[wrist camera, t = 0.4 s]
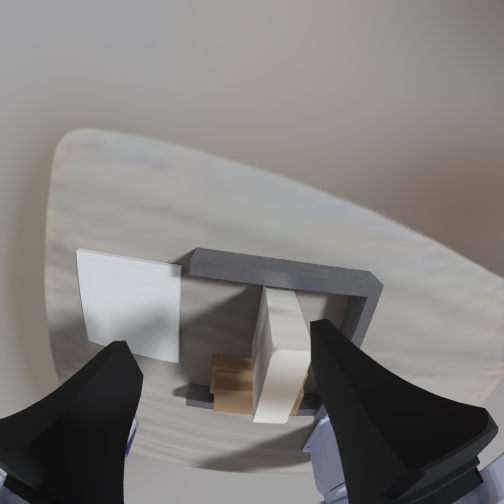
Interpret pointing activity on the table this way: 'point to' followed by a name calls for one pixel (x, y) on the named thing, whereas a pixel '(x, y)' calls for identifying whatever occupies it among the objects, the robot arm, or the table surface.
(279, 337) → the white upright pillar
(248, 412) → the upper oak offcut
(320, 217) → the table surface
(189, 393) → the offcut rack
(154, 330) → the white mat
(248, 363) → the lower oak offcut
